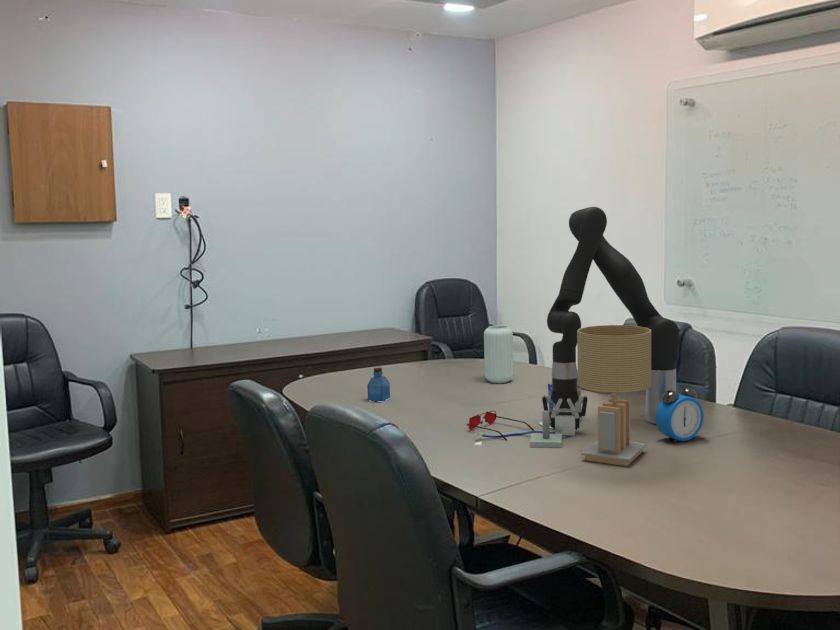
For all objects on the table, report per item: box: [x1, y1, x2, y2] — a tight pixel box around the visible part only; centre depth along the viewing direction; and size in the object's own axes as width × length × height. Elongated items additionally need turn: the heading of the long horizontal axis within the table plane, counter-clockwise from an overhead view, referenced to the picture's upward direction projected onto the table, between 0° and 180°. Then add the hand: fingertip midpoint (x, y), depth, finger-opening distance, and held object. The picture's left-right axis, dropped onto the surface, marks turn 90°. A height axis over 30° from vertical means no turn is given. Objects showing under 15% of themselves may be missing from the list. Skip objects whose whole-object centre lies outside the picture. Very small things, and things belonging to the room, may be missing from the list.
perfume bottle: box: [367, 367, 391, 402], centre depth 296 cm, size 6×6×12 cm
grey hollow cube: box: [554, 411, 576, 437], centre depth 245 cm, size 6×6×6 cm
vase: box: [483, 324, 514, 384], centre depth 320 cm, size 12×12×22 cm
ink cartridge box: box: [547, 382, 583, 421], centre depth 259 cm, size 10×6×14 cm, turn 102°
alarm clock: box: [655, 387, 705, 443], centre depth 233 cm, size 13×6×15 cm, turn 113°
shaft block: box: [529, 410, 563, 449], centre depth 235 cm, size 9×9×10 cm
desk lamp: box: [576, 324, 651, 467], centre depth 218 cm, size 20×20×35 cm
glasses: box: [465, 410, 536, 442], centre depth 250 cm, size 14×16×5 cm
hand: (565, 429), depth 245 cm, fingers closed on grey hollow cube, 6 cm apart
